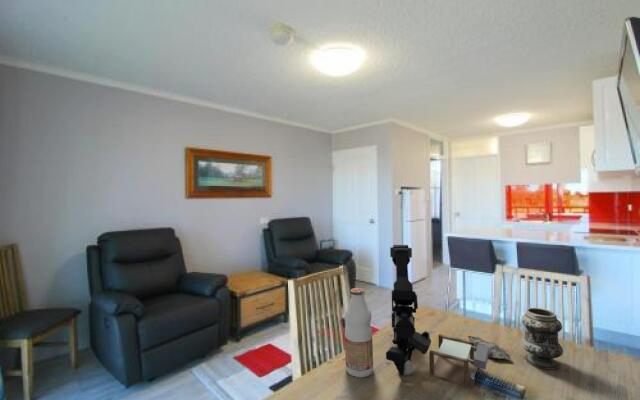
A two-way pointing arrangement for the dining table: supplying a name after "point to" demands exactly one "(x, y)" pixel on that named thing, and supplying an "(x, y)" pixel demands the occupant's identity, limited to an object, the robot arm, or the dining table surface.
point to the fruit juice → (358, 336)
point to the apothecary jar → (541, 338)
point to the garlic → (408, 368)
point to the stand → (452, 364)
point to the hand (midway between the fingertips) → (404, 370)
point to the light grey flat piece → (466, 352)
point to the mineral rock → (490, 348)
